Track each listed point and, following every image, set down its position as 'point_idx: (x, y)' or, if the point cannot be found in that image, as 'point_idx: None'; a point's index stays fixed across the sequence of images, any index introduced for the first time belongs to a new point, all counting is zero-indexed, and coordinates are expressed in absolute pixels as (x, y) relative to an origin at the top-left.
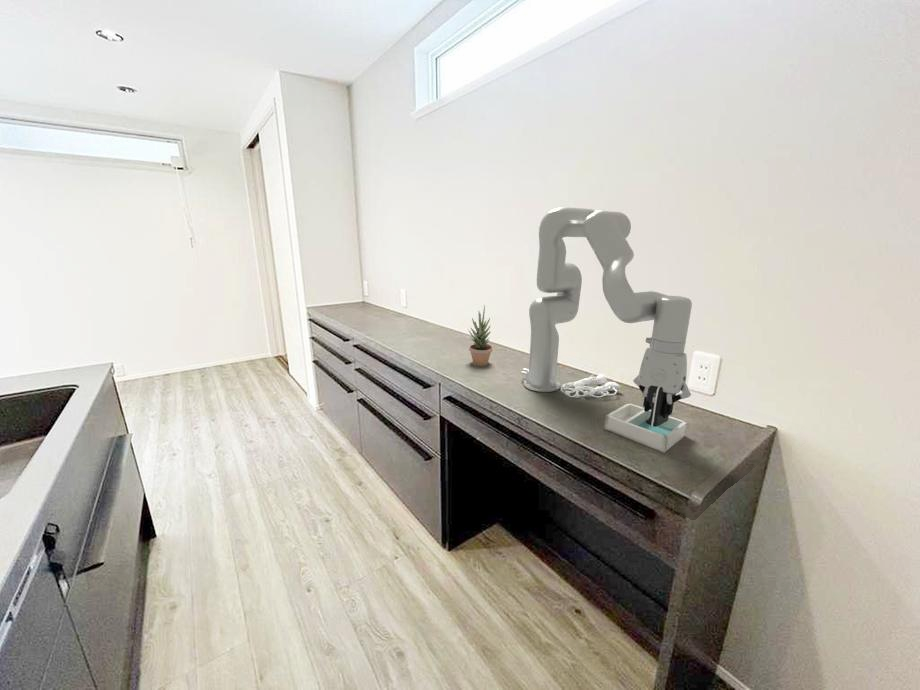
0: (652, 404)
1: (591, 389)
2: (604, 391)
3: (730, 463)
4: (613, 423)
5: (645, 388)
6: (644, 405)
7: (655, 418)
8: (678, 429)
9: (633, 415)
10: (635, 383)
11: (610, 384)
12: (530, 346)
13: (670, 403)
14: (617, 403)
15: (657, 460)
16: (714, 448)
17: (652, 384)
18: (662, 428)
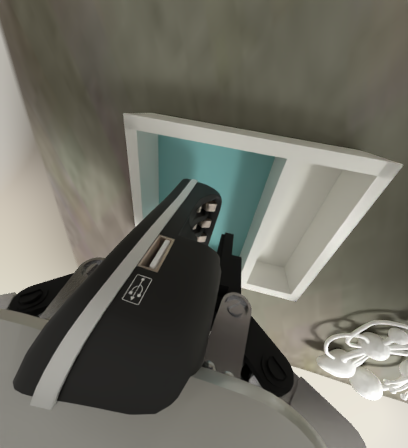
0: (176, 230)
1: (401, 347)
2: (357, 344)
3: (50, 170)
4: (344, 150)
5: (239, 358)
6: (236, 257)
7: (176, 191)
8: (134, 211)
9: (271, 267)
10: (330, 407)
11: (344, 369)
12: None
13: (97, 263)
14: (315, 311)
15: (145, 25)
16: (98, 216)
17: (132, 438)
18: None
